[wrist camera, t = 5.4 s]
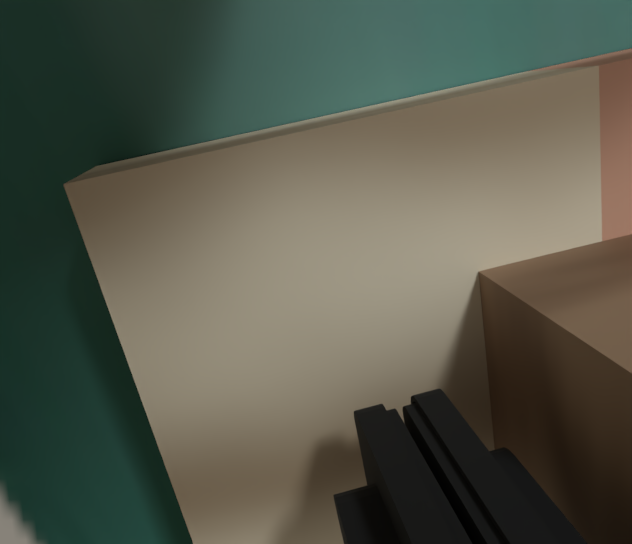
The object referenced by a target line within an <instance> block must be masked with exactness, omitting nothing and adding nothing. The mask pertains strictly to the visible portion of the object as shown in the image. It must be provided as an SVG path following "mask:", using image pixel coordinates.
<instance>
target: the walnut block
mask: <svg viewBox="0 0 632 544" xmlns="http://www.w3.org/2000/svg"><path fill="white" fill-rule="evenodd" d="M478 272H479V283H480V294H481V305H482V316H483V327H484V338H485V349H486V360H487V371H488V382H489V393H490V404H491V415H492V426H493V437H494V448H495V450H496V449H499V448H503V447H504V448H507V449H509V450H510V451H511V452H512V453H513V454H514V455H515V456H516V458H517V459H518V460H519V461H520V462H521V464H522V465H523V466H524V467H525V468H526V470H527V471H528V472H529V473H530V474H531V476H532V477H533V478H534V479H535V480H536V482H537V483H538V484H539V485H540V487H541V488H542V489H543V490H544V491H545V493H546V494H547V495H548V496H549V497H550V499H551V500H552V501H553V502H554V503H555V505H556V506H557V507H558V508H559V509H560V511H561V512H562V513H563V514H564V516H565V517H566V518H567V519H568V520H569V522H570V523H571V524H572V525H573V526H574V528H575V529H576V530H577V531H578V532H579V534H580V535H581V536H582V537H583V538H584V540H585V541H586V542H587V543H588V544H632V234H630V235H626V236H622V237H618V238H613V239H609V240H605V241H601V242H597V243H593V244H589V245H585V246H580V247H576V248H572V249H568V250H564V251H560V252H556V253H552V254H548V255H543V256H539V257H535V258H531V259H527V260H523V261H519V262H515V263H511V264H507V265H502V266H498V267H494V268H490V269H486V270H482V271H478Z"/></svg>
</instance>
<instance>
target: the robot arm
mask: <svg viewBox="0 0 632 544" xmlns="http://www.w3.org/2000/svg"><path fill="white" fill-rule="evenodd" d="M403 417H404V422H403V420H402V419H401V417H400V415H399V413H398V411H397V410H396V409H395V408H394V409H391V410H387V411H386V409H385V407H384V405H383V404H378V405H374V406H371V407H367V408H363V409H359V410H356V411H354V420H355V425H356V430H357V435H358V440H359V445H360V451H361V456H362V461H363V466H364V471H365V476H366V481H367V486H363V487H359V488H356V489H352V490H349V491H345V492H342V493H338V494H334V495H333V496H334V502H335V506H336V511H337V515H338V520H339V524H340V529H341V533H342V537H343V542H344V544H588V543H587V542H586V541H585V540H584V538H583V537H582V536H581V535H580V534H579V532H578V531H577V530H576V529H575V528H574V526H573V525H572V524H571V523H570V522H569V520H568V519H567V518H566V517H565V516H564V514H563V513H562V512H561V511H560V509H559V508H558V507H557V506H556V505H555V503H554V502H553V501H552V500H551V499H550V497H549V496H548V495H547V494H546V493H545V491H544V490H543V489H542V488H541V487H540V485H539V484H538V483H537V482H536V480H535V479H534V478H533V477H532V476H531V474H530V473H529V472H528V471H527V470H526V468H525V467H524V466H523V465H522V464H521V462H520V461H519V460H518V459H517V458H516V456H515V455H514V454H513V453H512V452H511V451H510V450H509V449H507V448H504V447H503V448H499V449H496V450H492V451H489V450H488V449H487V448H486V447H485V445H484V444H483V443H482V441H481V440H480V439H479V437H478V436H477V435H476V433H475V432H474V431H473V430H472V428H471V427H470V426H469V424H468V423H467V422H466V420H465V419H464V418H463V416H462V415H461V414H460V413H459V411H458V410H457V409H456V407H455V406H454V405H453V403H452V402H451V401H450V399H449V398H448V397H447V396H446V394H445V393H444V392H443V391H442V390H441V389H435V390H431V391H427V392H424V393H420V394H416V395H412V396H411V404H409V405H406V406H403Z"/></svg>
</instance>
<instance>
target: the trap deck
mask: <svg viewBox="0 0 632 544" xmlns="http://www.w3.org/2000/svg"><path fill="white" fill-rule="evenodd" d="M63 185H64V188H65V191H66V193H67V196H68V199H69V202H70V204H71V207H72V210H73V213H74V215H75V218H76V221H77V224H78V227H79V229H80V232H81V235H82V238H83V240H84V243H85V246H86V249H87V251H88V254H89V257H90V260H91V262H92V265H93V268H94V271H95V274H96V276H97V279H98V282H99V285H100V287H101V290H102V293H103V296H104V298H105V301H106V304H107V307H108V309H109V312H110V315H111V318H112V320H113V323H114V326H115V329H116V332H117V334H118V337H119V340H120V343H121V345H122V348H123V351H124V354H125V356H126V359H127V362H128V365H129V367H130V370H131V373H132V376H133V378H134V381H135V384H136V387H137V390H138V392H139V395H140V398H141V401H142V403H143V406H144V409H145V412H146V414H147V417H148V420H149V423H150V425H151V428H152V431H153V434H154V436H155V439H156V442H157V445H158V448H159V450H160V453H161V456H162V459H163V461H164V464H165V467H166V470H167V472H168V475H169V478H170V481H171V483H172V486H173V489H174V492H175V495H176V497H177V500H178V503H179V506H180V508H181V511H182V514H183V517H184V519H185V522H186V525H187V528H188V530H189V533H190V536H191V539H192V541H193V544H344V542H343V537H342V533H341V529H340V524H339V520H338V515H337V511H336V506H335V502H334V496H333V495H334V494H338V493H342V492H345V491H349V490H352V489H356V488H359V487H363V486H367V481H366V476H365V471H364V466H363V461H362V456H361V451H360V445H359V440H358V435H357V430H356V425H355V420H354V411H356V410H359V409H363V408H367V407H371V406H374V405H378V404H383V405H384V407H385V409H386V411H387V410H391V409H394V408H395V409H396V410H397V411H398V413H399V415H400V417H401V419H402V420H403V422H404V417H403V406H406V405H409V404H411V396H412V395H416V394H420V393H424V392H427V391H431V390H435V389H441V390H442V391H443V392H444V393H445V394H446V396H447V397H448V398H449V399H450V401H451V402H452V403H453V405H454V406H455V407H456V409H457V410H458V411H459V413H460V414H461V415H462V416H463V418H464V419H465V420H466V422H467V423H468V424H469V426H470V427H471V428H472V430H473V431H474V432H475V433H476V435H477V436H478V437H479V439H480V440H481V441H482V443H483V444H484V445H485V447H486V448H487V449H488V450H489V451H492V450H495V448H494V437H493V426H492V415H491V404H490V393H489V382H488V371H487V360H486V349H485V338H484V327H483V316H482V305H481V294H480V283H479V272H478V271H482V270H486V269H490V268H494V267H498V266H502V265H507V264H511V263H515V262H519V261H523V260H527V259H531V258H535V257H539V256H543V255H548V254H552V253H556V252H560V251H564V250H568V249H572V248H576V247H580V246H585V245H589V244H593V243H597V242H601V241H605V240H609V239H613V238H618V237H622V236H626V235H630V234H632V48H631V49H627V50H622V51H617V52H613V53H608V54H604V55H599V56H595V57H590V58H586V59H581V60H576V61H572V62H567V63H563V64H558V65H554V66H549V67H545V68H540V69H536V70H531V71H526V72H522V73H517V74H513V75H508V76H504V77H499V78H495V79H490V80H486V81H481V82H476V83H472V84H467V85H463V86H458V87H454V88H449V89H445V90H440V91H435V92H431V93H426V94H422V95H417V96H413V97H408V98H404V99H399V100H395V101H390V102H385V103H381V104H376V105H372V106H367V107H363V108H358V109H354V110H349V111H344V112H340V113H335V114H331V115H326V116H322V117H317V118H313V119H308V120H304V121H299V122H294V123H290V124H285V125H281V126H276V127H272V128H267V129H263V130H258V131H253V132H249V133H244V134H240V135H235V136H231V137H226V138H222V139H217V140H213V141H208V142H203V143H199V144H194V145H190V146H185V147H181V148H176V149H172V150H167V151H163V152H158V153H153V154H149V155H144V156H140V157H135V158H131V159H126V160H122V161H117V162H112V163H108V164H103V165H99V166H96V167H94V168H92V169H90V170H88V171H87V172H85V173H83V174H81V175H79V176H78V177H76V178H74V179H72V180H70V181H69V182H67V183H65V184H63Z"/></svg>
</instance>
